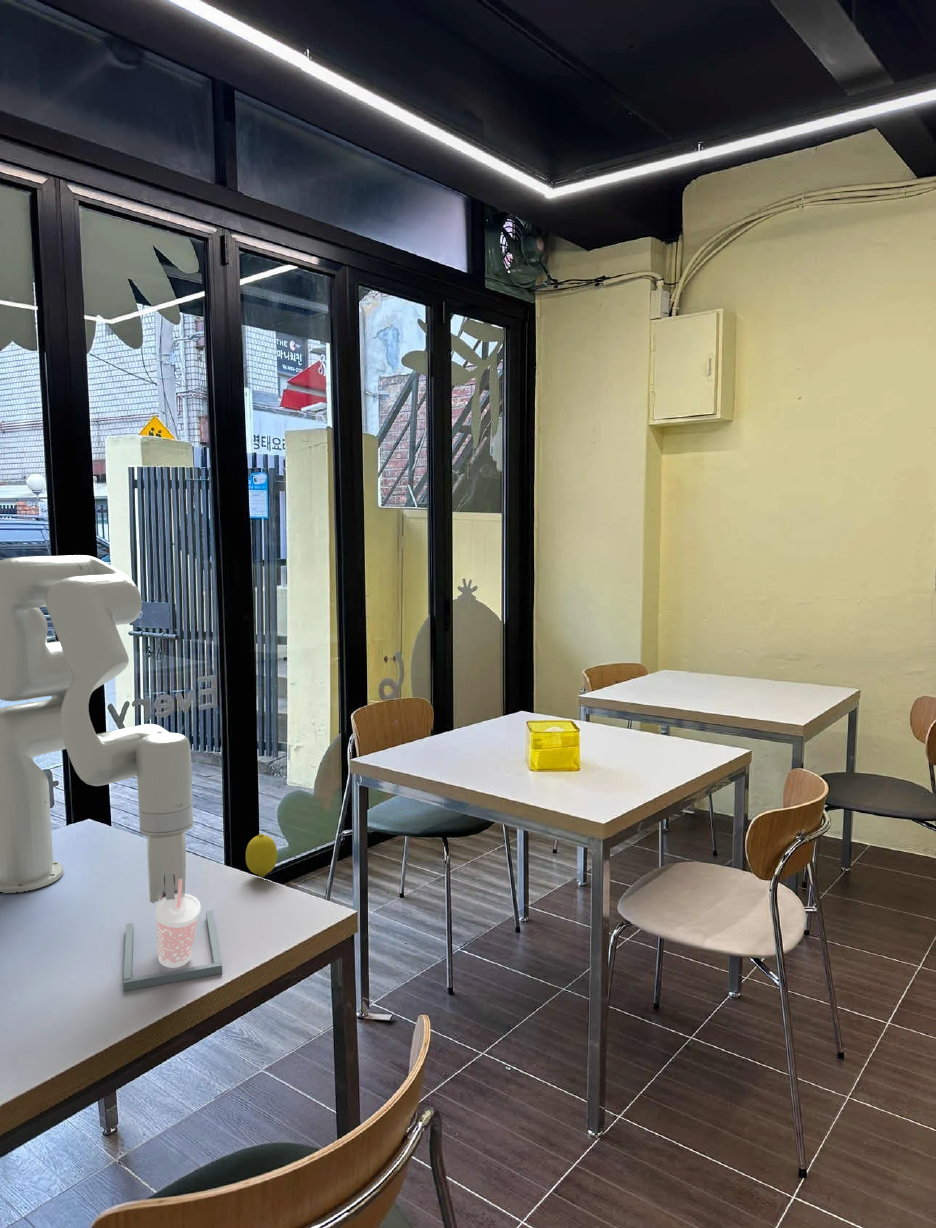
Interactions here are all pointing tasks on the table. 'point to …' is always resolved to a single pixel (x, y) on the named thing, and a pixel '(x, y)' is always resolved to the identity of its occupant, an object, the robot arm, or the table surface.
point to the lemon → (261, 855)
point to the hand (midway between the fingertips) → (171, 936)
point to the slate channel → (173, 975)
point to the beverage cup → (176, 928)
